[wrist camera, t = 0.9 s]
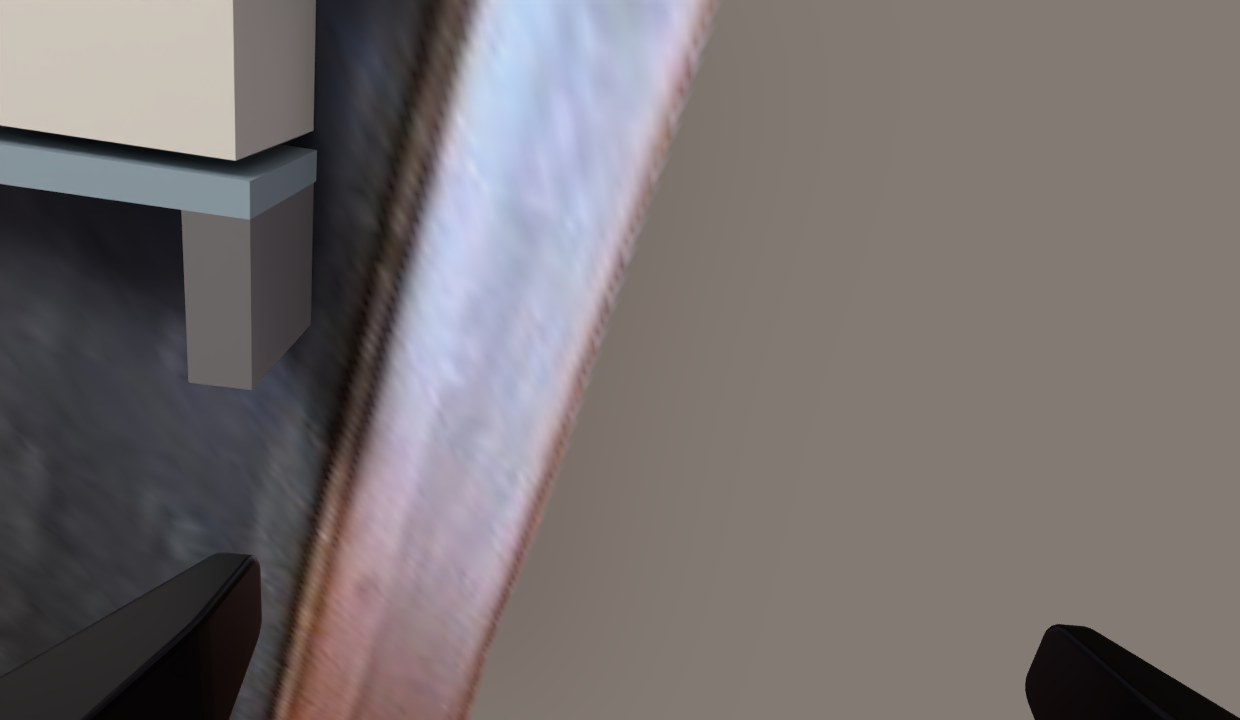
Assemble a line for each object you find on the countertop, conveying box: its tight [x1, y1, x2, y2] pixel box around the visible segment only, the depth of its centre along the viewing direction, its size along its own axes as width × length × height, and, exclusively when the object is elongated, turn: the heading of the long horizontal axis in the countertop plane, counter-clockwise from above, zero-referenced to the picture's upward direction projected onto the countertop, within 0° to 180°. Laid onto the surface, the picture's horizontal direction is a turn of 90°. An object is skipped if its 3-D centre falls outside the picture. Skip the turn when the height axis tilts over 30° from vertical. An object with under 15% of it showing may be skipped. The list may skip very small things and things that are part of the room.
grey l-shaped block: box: [0, 125, 317, 390], centre depth 17 cm, size 4×6×4 cm, turn 81°
